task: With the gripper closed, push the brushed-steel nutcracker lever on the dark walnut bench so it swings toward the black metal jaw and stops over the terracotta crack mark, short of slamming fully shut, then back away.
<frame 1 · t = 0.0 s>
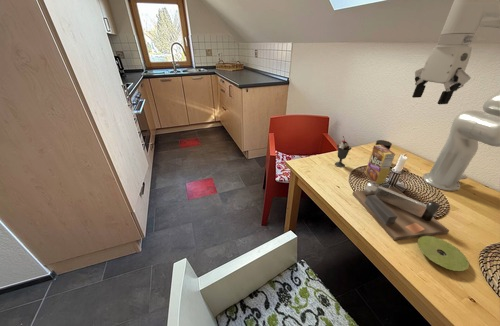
hand: (428, 100, 68), 37 cm above the table, tool pointing down, fingers open, 9 cm apart
green disc: (438, 256, 59), on the table
supplement container: (377, 161, 107), on the table
sundae: (339, 165, 103), on the table
lever: (397, 197, 73), point 5 cm above the table, hinge at 35.0°
nutcracker bench: (368, 197, 81), on the table
candy box: (373, 179, 92), on the table
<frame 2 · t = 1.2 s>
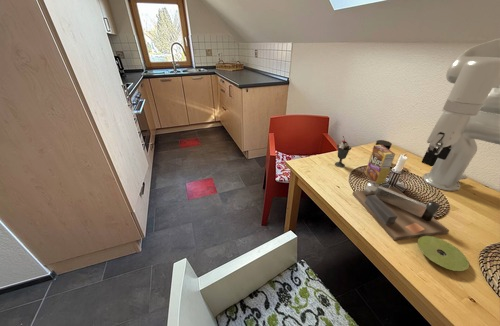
hand: (433, 160, 66), 20 cm above the table, tool pointing down, fingers open, 7 cm apart
nothing on the table moved.
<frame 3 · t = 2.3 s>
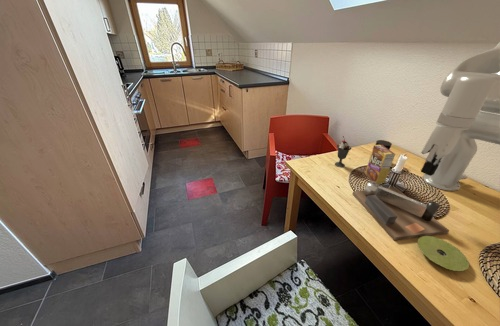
hand: (426, 173, 68), 15 cm above the table, tool pointing down, fingers closed
nothing on the table moved.
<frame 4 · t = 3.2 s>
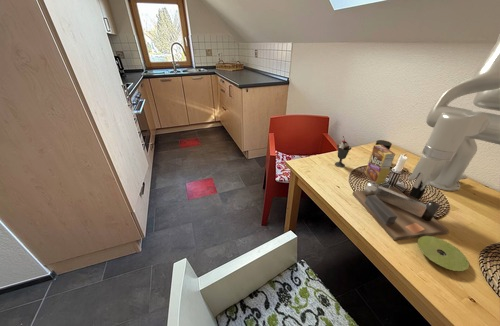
hand: (414, 196, 74), 5 cm above the table, tool pointing down, fingers closed
nothing on the table moved.
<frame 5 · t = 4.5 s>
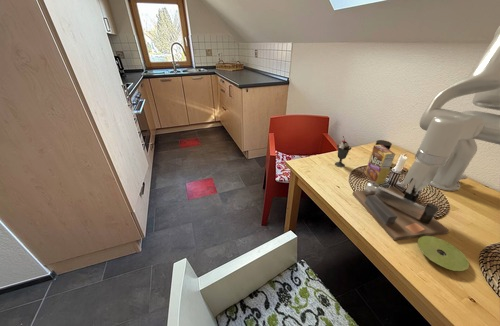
hand: (408, 201, 72), 5 cm above the table, tool pointing down, fingers closed
lever: (396, 198, 72), point 5 cm above the table, hinge at 29.1°, touching gripper
everything else where it was.
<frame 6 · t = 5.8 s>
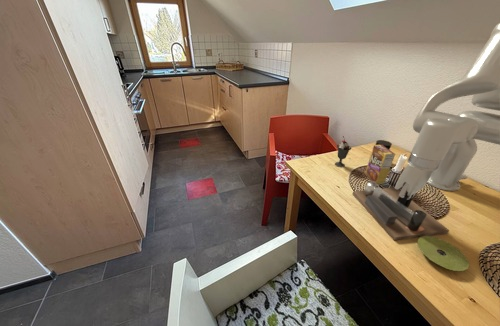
hand: (401, 205, 70), 5 cm above the table, tool pointing down, fingers closed
lever: (391, 201, 71), point 5 cm above the table, hinge at 8.0°, touching gripper
everything else where it was.
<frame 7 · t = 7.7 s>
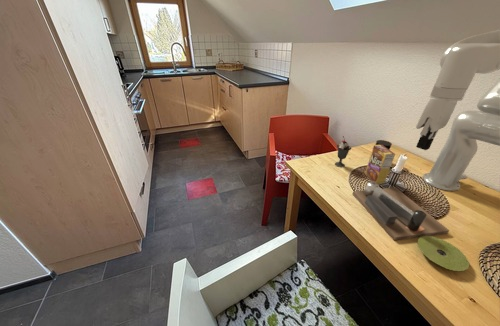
hand: (422, 148, 69), 22 cm above the table, tool pointing down, fingers closed
lever: (391, 201, 71), point 5 cm above the table, hinge at 7.9°
everything else where it was.
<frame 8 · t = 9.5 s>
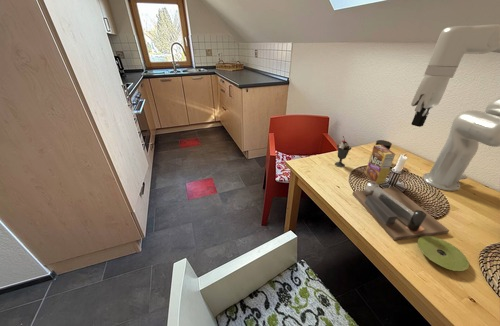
hand: (416, 125, 75), 27 cm above the table, tool pointing down, fingers closed
nothing on the table moved.
at the end: lever at +8° (first picture: +35°); the gripper is holding nothing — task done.
